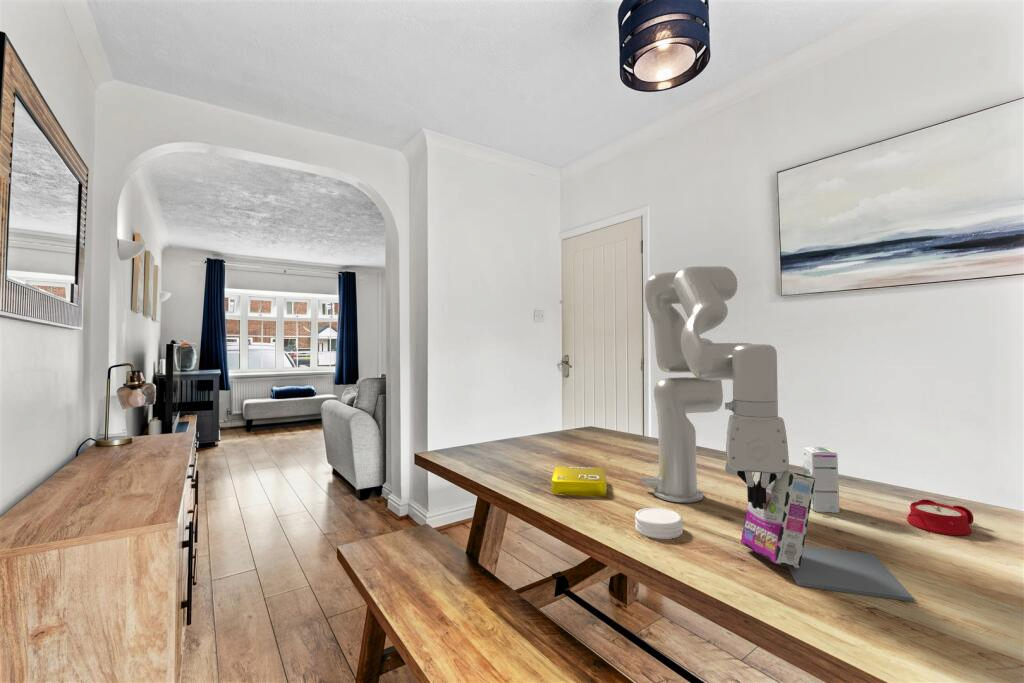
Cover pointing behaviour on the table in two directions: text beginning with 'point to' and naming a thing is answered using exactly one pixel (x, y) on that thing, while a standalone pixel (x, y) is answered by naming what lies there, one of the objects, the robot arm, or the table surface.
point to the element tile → (579, 481)
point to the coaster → (658, 523)
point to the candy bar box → (780, 519)
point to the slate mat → (847, 573)
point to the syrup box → (822, 478)
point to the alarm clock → (940, 518)
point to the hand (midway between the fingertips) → (756, 506)
